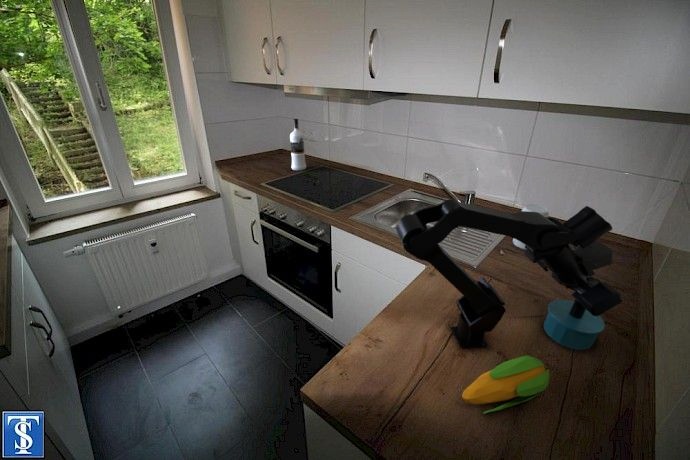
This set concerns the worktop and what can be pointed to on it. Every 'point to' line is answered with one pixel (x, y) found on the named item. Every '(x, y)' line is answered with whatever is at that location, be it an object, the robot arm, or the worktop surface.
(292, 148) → the vodka
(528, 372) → the corn
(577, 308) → the lid
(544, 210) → the supplement can
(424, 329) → the worktop surface
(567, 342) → the pot
